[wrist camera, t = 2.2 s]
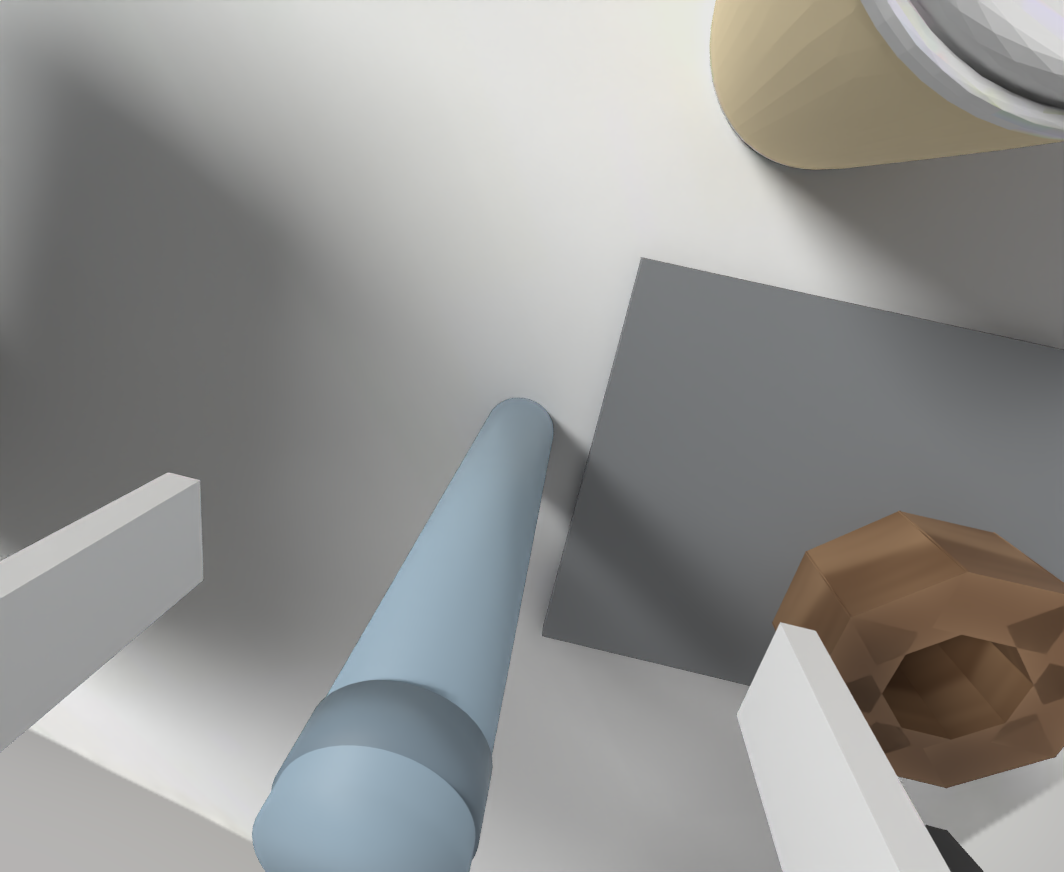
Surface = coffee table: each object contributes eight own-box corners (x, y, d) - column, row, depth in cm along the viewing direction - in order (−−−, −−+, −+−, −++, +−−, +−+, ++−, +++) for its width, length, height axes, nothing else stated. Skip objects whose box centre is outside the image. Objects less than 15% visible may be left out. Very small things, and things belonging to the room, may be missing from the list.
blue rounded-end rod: (479, 454, 22) (247, 900, 7) (491, 389, 21) (248, 755, 6) (546, 469, 22) (453, 953, 7) (561, 405, 21) (489, 816, 6)
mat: (543, 626, 25) (542, 636, 24) (641, 257, 19) (642, 257, 18) (962, 727, 24) (970, 738, 24) (1206, 381, 18) (1225, 385, 18)
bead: (750, 668, 24) (779, 748, 20) (831, 494, 20) (885, 551, 17) (948, 715, 23) (1016, 805, 20) (1063, 548, 20) (1170, 617, 16)
